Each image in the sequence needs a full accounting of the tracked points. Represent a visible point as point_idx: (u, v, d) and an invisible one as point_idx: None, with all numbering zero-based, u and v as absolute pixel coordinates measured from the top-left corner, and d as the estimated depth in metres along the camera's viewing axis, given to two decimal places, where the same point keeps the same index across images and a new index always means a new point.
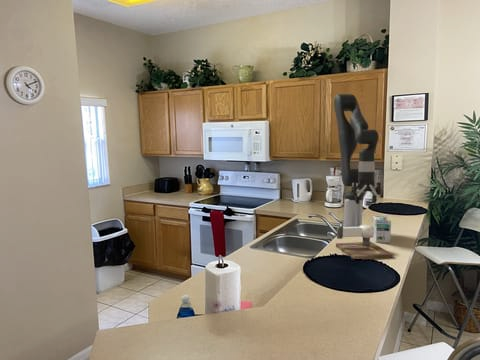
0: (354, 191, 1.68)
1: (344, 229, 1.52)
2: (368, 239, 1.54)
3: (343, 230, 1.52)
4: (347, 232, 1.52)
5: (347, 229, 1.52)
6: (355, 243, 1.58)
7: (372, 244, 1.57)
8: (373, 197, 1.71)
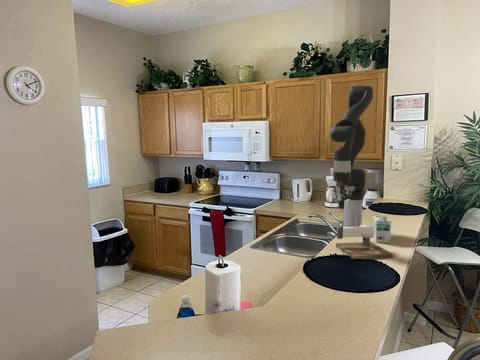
0: None
1: (344, 229, 1.52)
2: (368, 239, 1.54)
3: (343, 230, 1.52)
4: (347, 232, 1.52)
5: (347, 229, 1.52)
6: (355, 243, 1.58)
7: (372, 244, 1.57)
8: None
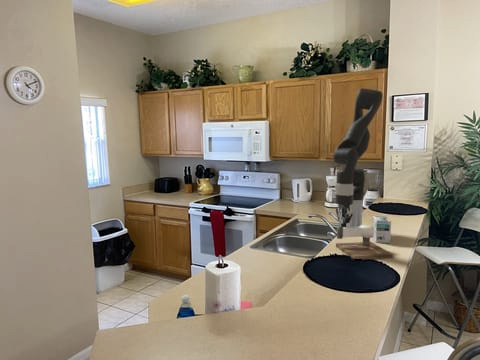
0: None
1: (344, 229, 1.52)
2: (368, 239, 1.54)
3: (343, 230, 1.52)
4: (347, 232, 1.52)
5: (347, 229, 1.52)
6: (355, 243, 1.58)
7: (372, 244, 1.57)
8: None
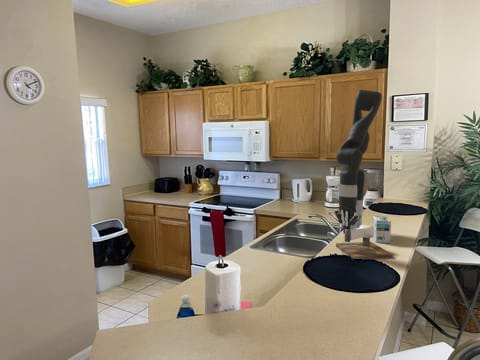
0: None
1: (352, 232, 1.48)
2: (368, 239, 1.54)
3: (351, 233, 1.48)
4: (354, 234, 1.49)
5: (354, 231, 1.48)
6: (355, 243, 1.58)
7: (372, 244, 1.57)
8: None
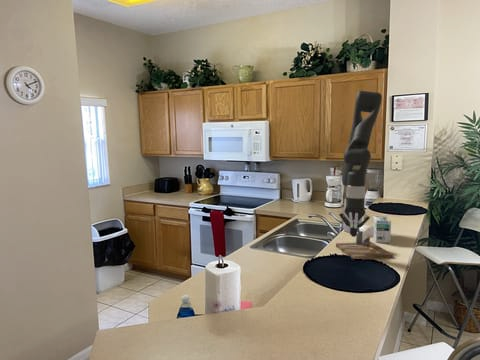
0: None
1: (362, 233, 1.45)
2: (368, 239, 1.54)
3: (362, 235, 1.44)
4: (363, 236, 1.46)
5: (363, 233, 1.46)
6: (355, 243, 1.58)
7: (372, 244, 1.57)
8: None
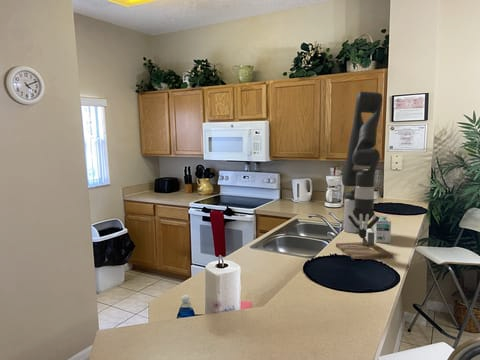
0: None
1: None
2: None
3: None
4: None
5: None
6: (355, 243, 1.58)
7: None
8: None
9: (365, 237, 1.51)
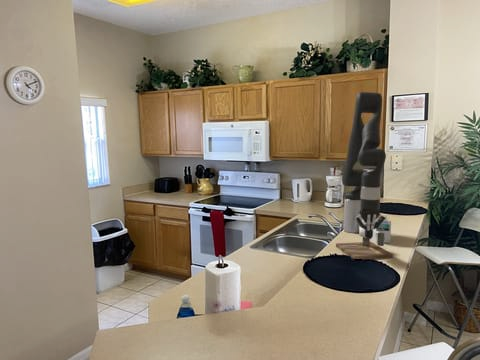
0: None
1: None
2: (368, 239, 1.54)
3: None
4: None
5: None
6: (355, 243, 1.58)
7: (372, 244, 1.57)
8: None
9: None
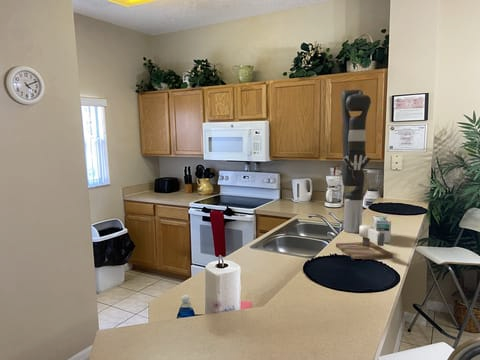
0: None
1: None
2: (368, 239, 1.54)
3: None
4: None
5: None
6: (355, 243, 1.58)
7: (372, 244, 1.57)
8: None
9: (368, 237, 1.50)
